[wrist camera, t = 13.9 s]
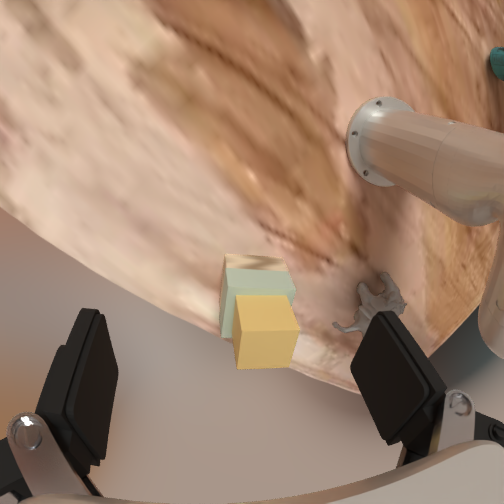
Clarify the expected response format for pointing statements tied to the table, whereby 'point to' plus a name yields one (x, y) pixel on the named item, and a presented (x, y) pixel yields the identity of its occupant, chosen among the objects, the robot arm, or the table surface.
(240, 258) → the tower base
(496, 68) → the beverage bottle
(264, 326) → the block
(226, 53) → the table surface
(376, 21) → the table surface
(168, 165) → the table surface
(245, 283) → the pale green square block
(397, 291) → the gray elephant figurine
